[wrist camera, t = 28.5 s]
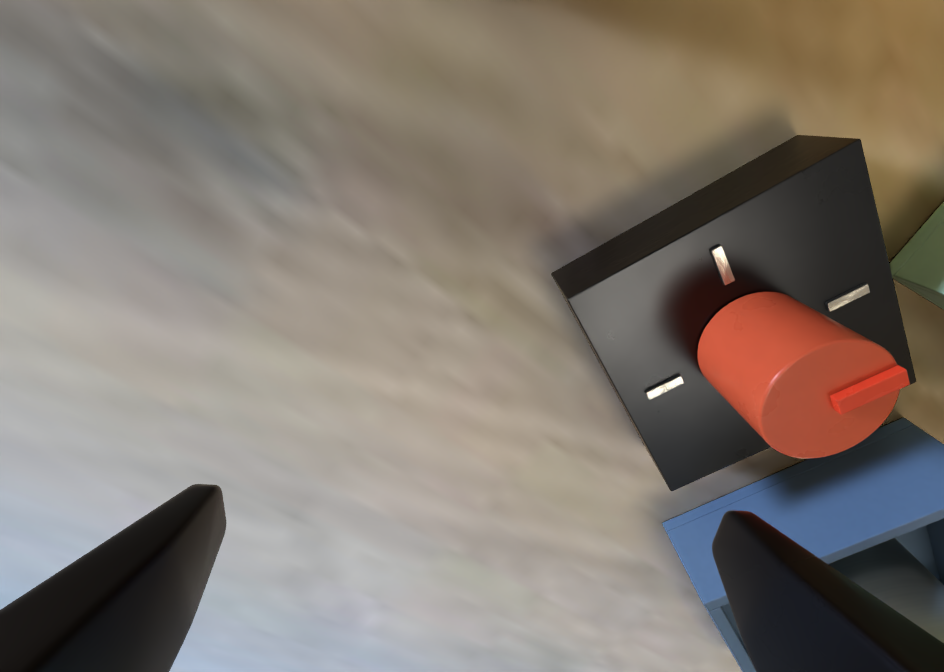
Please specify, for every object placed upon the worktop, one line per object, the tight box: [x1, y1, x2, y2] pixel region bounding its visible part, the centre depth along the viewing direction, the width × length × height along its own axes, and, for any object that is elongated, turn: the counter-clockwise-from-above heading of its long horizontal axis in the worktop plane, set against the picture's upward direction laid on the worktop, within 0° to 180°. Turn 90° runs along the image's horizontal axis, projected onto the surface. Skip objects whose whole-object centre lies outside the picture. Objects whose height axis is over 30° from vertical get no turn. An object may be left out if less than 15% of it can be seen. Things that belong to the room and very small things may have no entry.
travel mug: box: [828, 538, 944, 643], centre depth 21 cm, size 7×7×12 cm
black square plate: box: [551, 135, 916, 491], centre depth 19 cm, size 10×10×3 cm
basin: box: [662, 418, 944, 672], centre depth 24 cm, size 12×12×5 cm
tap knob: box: [698, 292, 910, 459], centre depth 16 cm, size 4×4×4 cm
